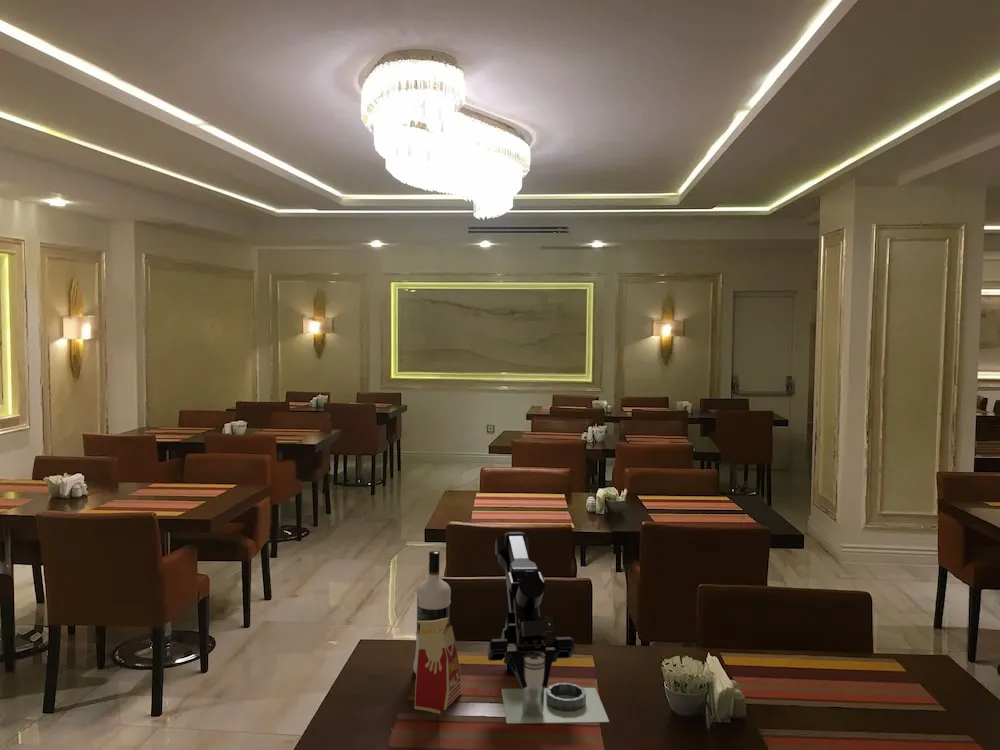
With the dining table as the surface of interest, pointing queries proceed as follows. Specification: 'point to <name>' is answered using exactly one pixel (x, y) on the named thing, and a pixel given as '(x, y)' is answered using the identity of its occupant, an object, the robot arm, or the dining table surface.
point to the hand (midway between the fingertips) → (534, 687)
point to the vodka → (432, 598)
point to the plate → (588, 714)
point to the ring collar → (566, 704)
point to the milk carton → (437, 667)
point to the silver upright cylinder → (533, 684)
